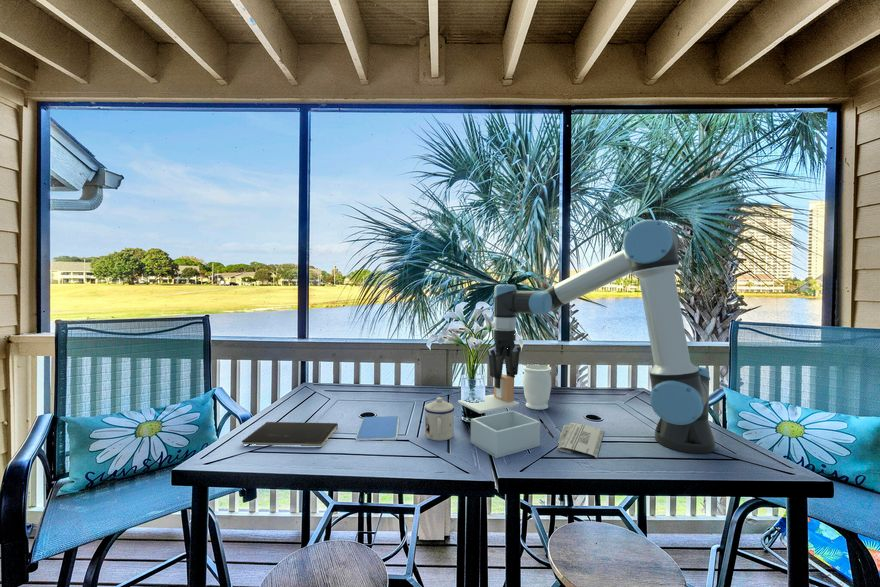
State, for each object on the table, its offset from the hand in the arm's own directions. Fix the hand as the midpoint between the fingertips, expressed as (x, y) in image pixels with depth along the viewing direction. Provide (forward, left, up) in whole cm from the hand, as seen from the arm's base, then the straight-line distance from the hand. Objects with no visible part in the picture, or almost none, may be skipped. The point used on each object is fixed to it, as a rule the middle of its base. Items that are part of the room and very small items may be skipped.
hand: (503, 396), depth 140 cm
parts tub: (-18, +14, -7) cm, 24 cm away
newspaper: (-27, -6, -8) cm, 29 cm away
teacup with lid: (-4, +28, -8) cm, 30 cm away
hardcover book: (+19, +67, -8) cm, 70 cm away
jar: (+3, -19, -8) cm, 20 cm away
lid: (0, +6, -2) cm, 7 cm away
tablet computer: (+12, +41, -8) cm, 44 cm away
